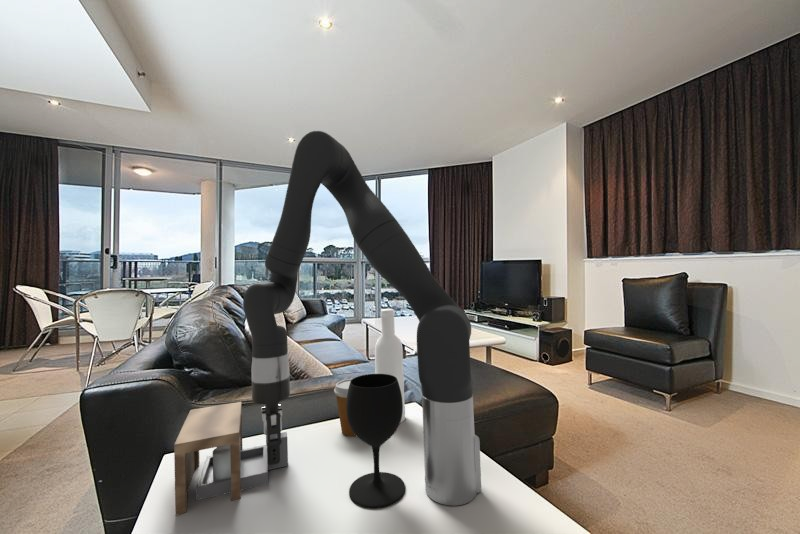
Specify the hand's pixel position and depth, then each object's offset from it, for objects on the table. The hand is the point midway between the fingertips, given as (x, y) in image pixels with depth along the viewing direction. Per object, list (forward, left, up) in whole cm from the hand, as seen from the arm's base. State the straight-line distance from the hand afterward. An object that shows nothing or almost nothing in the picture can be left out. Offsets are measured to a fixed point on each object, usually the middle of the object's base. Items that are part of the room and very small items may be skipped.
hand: (272, 453), depth 73 cm
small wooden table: (+11, 0, -3) cm, 11 cm away
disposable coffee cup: (-20, -9, -3) cm, 22 cm away
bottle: (-31, -11, -3) cm, 33 cm away
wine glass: (-17, +17, -3) cm, 25 cm away
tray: (+5, 0, -3) cm, 6 cm away
